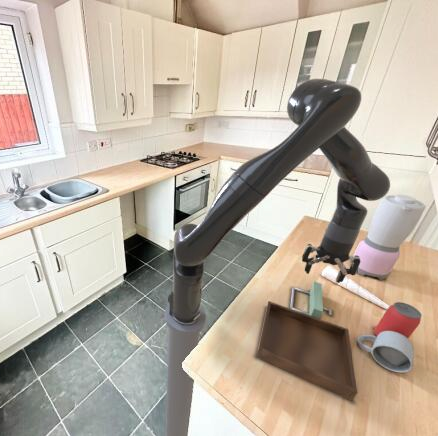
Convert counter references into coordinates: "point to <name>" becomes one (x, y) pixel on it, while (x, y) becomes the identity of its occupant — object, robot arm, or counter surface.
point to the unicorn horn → (352, 286)
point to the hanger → (313, 301)
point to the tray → (308, 349)
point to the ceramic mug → (390, 350)
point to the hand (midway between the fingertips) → (322, 276)
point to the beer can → (399, 319)
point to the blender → (388, 234)
